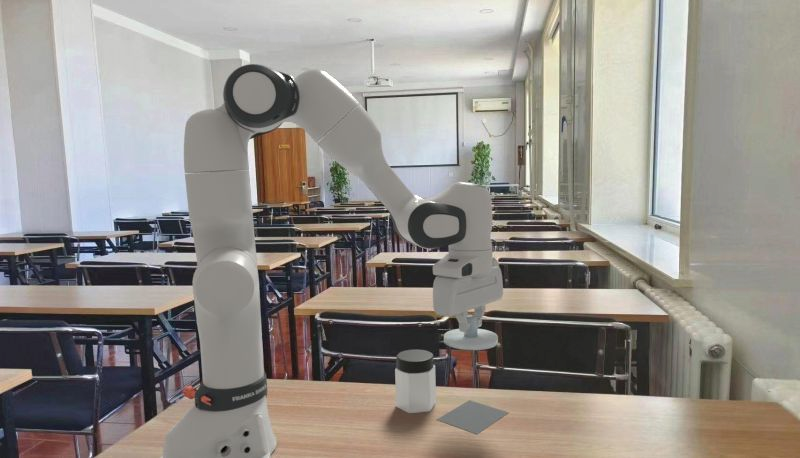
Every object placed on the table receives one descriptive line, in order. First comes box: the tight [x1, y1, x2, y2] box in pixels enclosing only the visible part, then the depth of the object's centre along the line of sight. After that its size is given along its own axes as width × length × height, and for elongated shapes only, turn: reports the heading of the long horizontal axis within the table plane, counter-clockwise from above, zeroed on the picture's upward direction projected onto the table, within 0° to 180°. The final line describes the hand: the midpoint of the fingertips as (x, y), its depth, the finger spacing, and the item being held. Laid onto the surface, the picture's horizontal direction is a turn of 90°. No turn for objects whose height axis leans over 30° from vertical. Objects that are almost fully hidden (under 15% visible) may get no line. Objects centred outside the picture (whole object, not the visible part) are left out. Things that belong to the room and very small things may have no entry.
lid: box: [443, 314, 499, 351], centre depth 108 cm, size 11×11×5 cm
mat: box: [436, 400, 510, 435], centre depth 110 cm, size 12×10×1 cm
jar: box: [394, 349, 437, 414], centre depth 116 cm, size 9×8×12 cm
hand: (470, 328), depth 108 cm, fingers closed on lid, 3 cm apart
